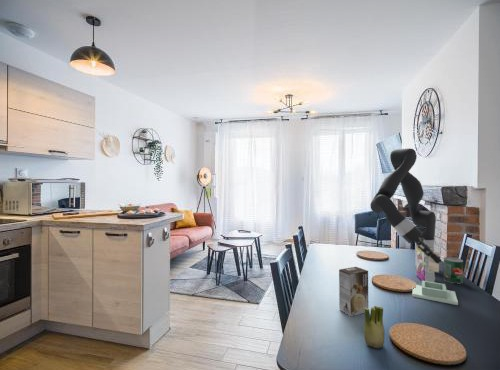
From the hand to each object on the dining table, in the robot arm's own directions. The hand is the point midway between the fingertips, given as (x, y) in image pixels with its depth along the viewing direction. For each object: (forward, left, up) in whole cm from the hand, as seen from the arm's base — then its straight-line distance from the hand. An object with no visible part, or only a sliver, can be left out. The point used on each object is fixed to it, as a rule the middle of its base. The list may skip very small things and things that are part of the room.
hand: (439, 260), depth 119 cm
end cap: (0, -2, -16) cm, 16 cm away
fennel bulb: (+54, -19, -16) cm, 59 cm away
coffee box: (+34, -29, -16) cm, 47 cm away
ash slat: (0, -2, -5) cm, 5 cm away
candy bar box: (-20, -5, -16) cm, 26 cm away
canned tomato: (-26, +7, -16) cm, 31 cm away
